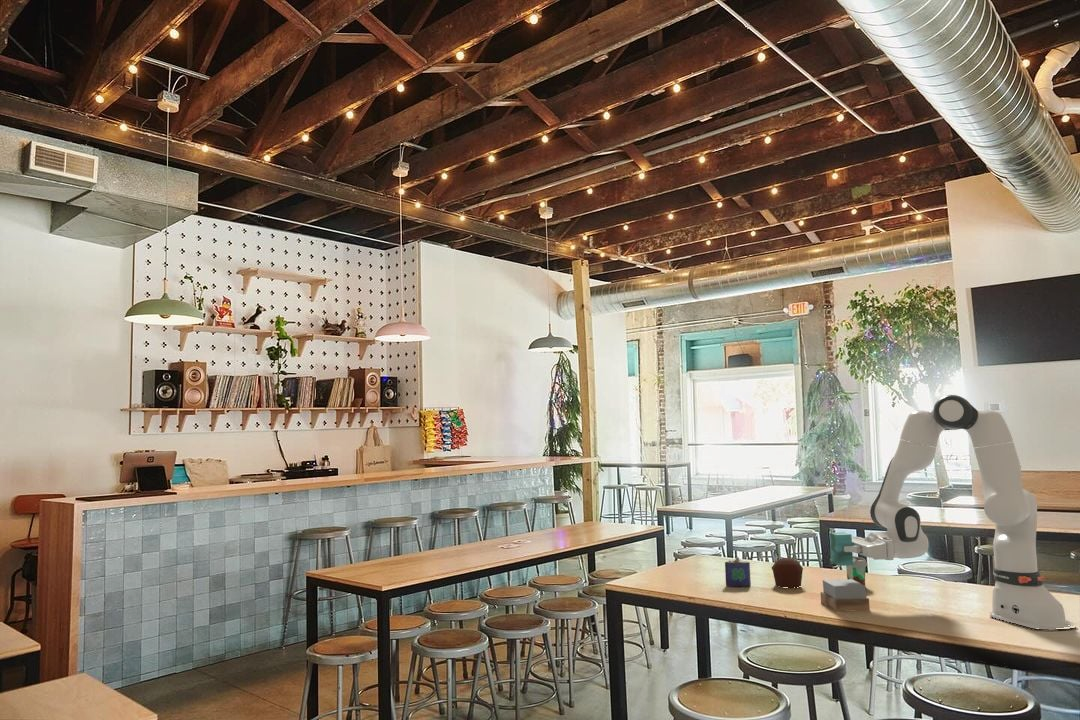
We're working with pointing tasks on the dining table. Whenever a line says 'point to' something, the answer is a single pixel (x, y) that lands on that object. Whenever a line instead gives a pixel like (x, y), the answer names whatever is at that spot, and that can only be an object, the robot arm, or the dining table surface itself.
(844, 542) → the teal block
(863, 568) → the food container
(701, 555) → the dining table surface
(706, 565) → the dining table surface
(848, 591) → the tower top
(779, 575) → the muffin
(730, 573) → the flask
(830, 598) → the block
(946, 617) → the dining table surface
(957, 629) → the dining table surface
